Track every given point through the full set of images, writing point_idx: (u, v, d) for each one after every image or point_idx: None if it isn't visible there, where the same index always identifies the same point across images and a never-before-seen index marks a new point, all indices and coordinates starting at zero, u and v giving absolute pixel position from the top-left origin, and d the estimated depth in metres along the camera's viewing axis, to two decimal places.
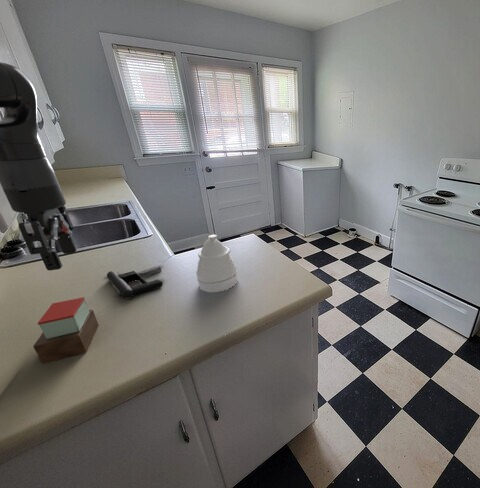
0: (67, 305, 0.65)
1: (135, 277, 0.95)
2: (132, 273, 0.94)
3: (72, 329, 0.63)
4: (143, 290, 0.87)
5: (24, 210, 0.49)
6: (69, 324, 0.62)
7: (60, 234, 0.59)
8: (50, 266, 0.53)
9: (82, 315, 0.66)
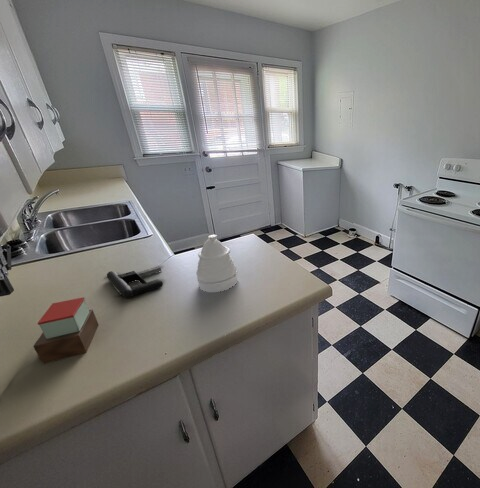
0: (67, 305, 0.65)
1: (135, 277, 0.95)
2: (132, 273, 0.94)
3: (72, 329, 0.63)
4: (143, 290, 0.87)
5: None
6: (69, 324, 0.62)
7: None
8: None
9: (82, 315, 0.66)
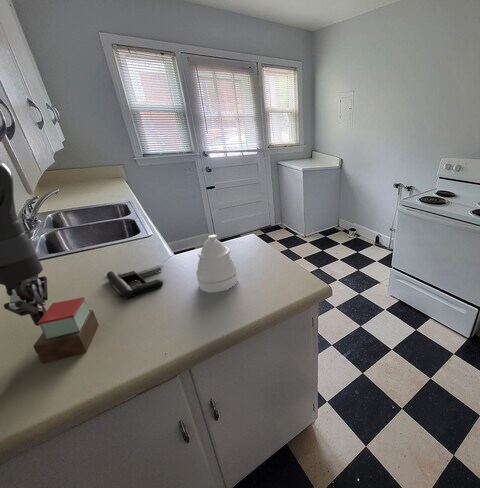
0: (67, 305, 0.65)
1: (135, 277, 0.95)
2: (132, 273, 0.94)
3: (72, 329, 0.63)
4: (143, 290, 0.87)
5: (3, 282, 0.55)
6: (69, 324, 0.62)
7: (33, 306, 0.62)
8: None
9: (82, 315, 0.66)
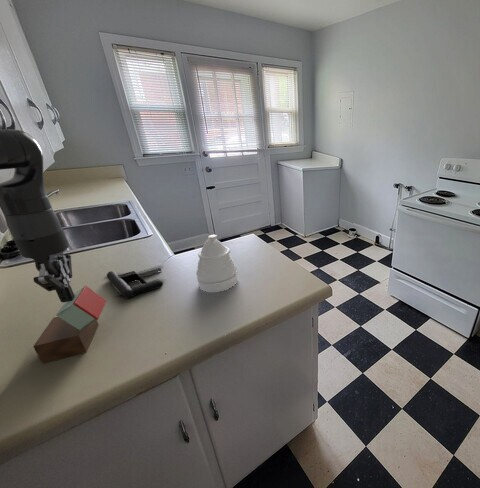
0: (95, 300, 0.67)
1: (135, 277, 0.95)
2: (132, 273, 0.94)
3: (79, 325, 0.63)
4: (143, 290, 0.87)
5: (32, 256, 0.55)
6: (85, 321, 0.63)
7: None
8: (64, 299, 0.62)
9: None
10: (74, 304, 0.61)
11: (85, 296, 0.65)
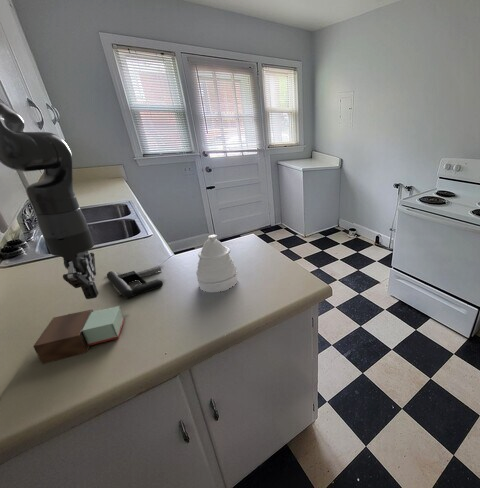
0: None
1: (135, 277, 0.95)
2: (132, 273, 0.94)
3: (88, 332, 0.65)
4: (143, 290, 0.87)
5: (61, 254, 0.57)
6: (91, 337, 0.65)
7: None
8: (88, 296, 0.64)
9: None
10: (116, 337, 0.68)
11: None
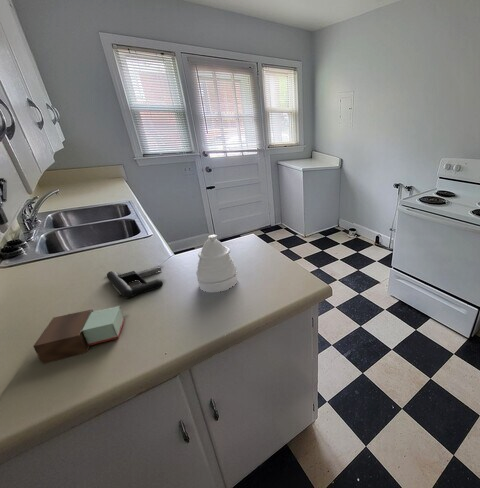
0: None
1: (135, 277, 0.95)
2: (132, 273, 0.94)
3: (88, 332, 0.65)
4: (143, 290, 0.87)
5: None
6: (91, 337, 0.65)
7: None
8: None
9: None
10: (116, 337, 0.68)
11: None
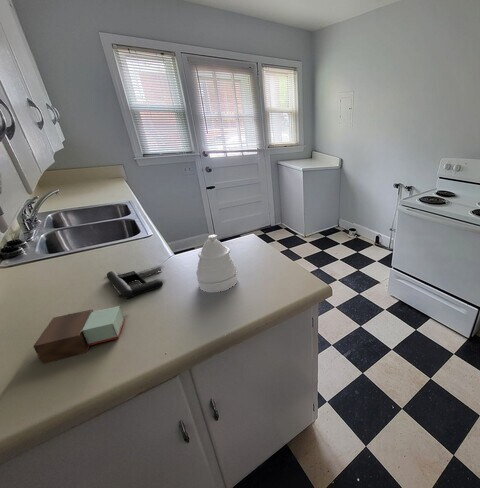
0: None
1: (135, 277, 0.95)
2: (132, 273, 0.94)
3: (88, 332, 0.65)
4: (143, 290, 0.87)
5: None
6: (91, 337, 0.65)
7: None
8: None
9: None
10: (116, 337, 0.68)
11: None
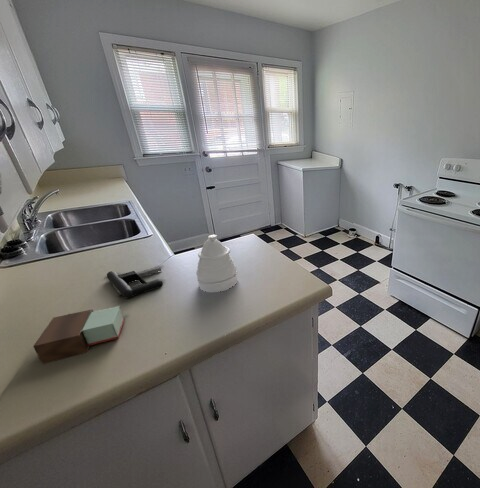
0: None
1: (135, 277, 0.95)
2: (132, 273, 0.94)
3: (88, 332, 0.65)
4: (143, 290, 0.87)
5: None
6: (91, 337, 0.65)
7: None
8: None
9: None
10: (116, 337, 0.68)
11: None
